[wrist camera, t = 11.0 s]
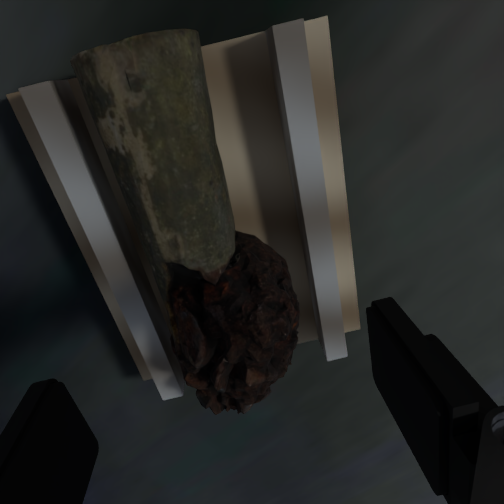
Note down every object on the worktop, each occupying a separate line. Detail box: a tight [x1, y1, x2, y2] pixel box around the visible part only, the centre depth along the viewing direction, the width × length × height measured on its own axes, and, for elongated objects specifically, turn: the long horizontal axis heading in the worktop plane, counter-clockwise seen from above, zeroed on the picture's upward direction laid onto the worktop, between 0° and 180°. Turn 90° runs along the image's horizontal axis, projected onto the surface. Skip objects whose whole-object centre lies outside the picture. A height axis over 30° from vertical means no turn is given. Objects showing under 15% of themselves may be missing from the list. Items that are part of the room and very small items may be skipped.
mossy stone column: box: [70, 29, 300, 415], centre depth 17 cm, size 18×7×6 cm, turn 11°
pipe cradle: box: [6, 16, 360, 400], centre depth 19 cm, size 17×14×3 cm
